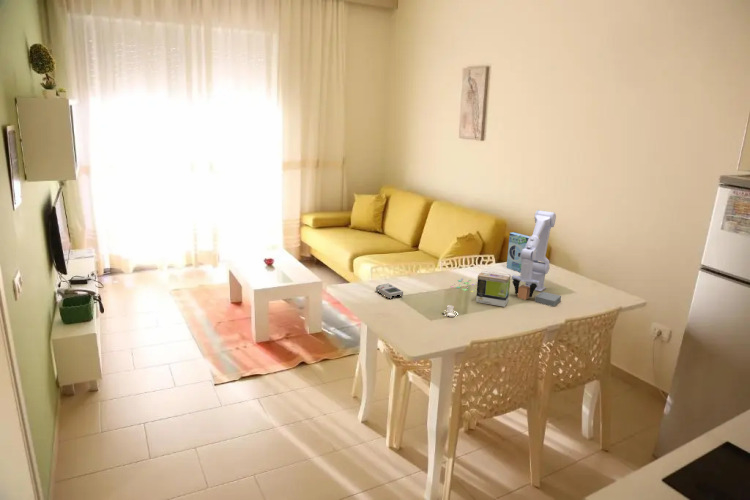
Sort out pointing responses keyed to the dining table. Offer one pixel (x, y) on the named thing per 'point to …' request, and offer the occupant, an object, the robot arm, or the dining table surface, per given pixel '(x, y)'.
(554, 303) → the slate base
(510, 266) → the gum box
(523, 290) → the terracotta block
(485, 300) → the tea box
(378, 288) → the handheld gaming device
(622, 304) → the dining table surface
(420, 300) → the dining table surface
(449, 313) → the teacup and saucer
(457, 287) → the set of multicoloured pieces
